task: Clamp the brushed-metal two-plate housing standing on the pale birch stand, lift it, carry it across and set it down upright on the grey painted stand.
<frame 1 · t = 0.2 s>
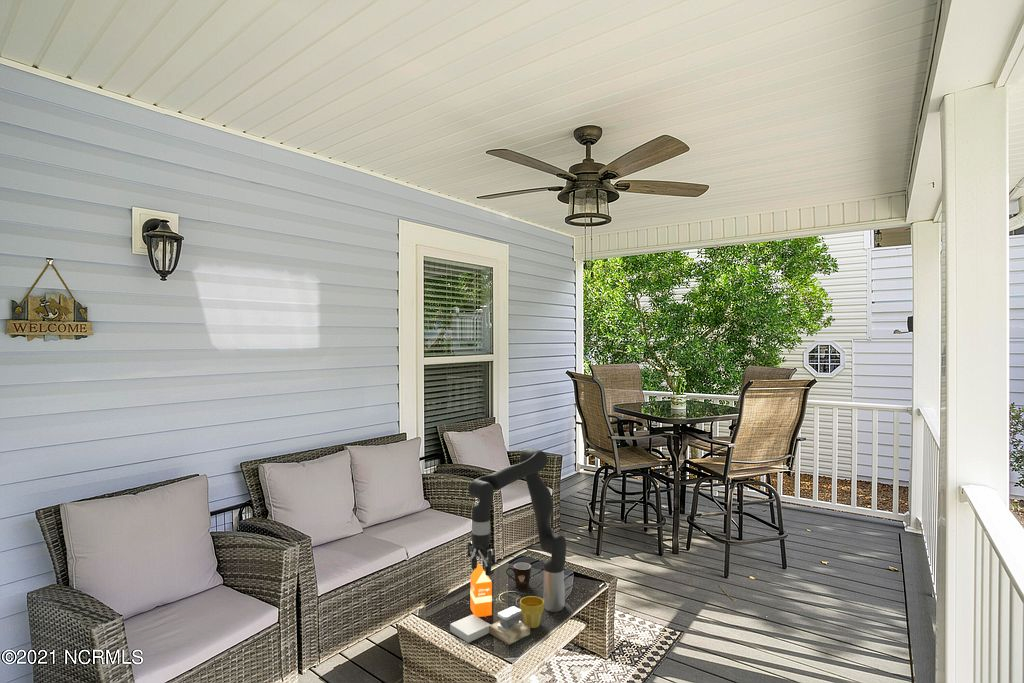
hand: (481, 571, 214), 28 cm above the table, fingers open, 8 cm apart
orange juice: (480, 612, 239), on the table
stand a: (509, 633, 221), on the table
plant pot: (531, 624, 228), on the table
stand b: (470, 631, 222), on the table
housing: (509, 626, 221), point 3 cm above the table, touching stand a
coffee mug: (519, 586, 265), on the table
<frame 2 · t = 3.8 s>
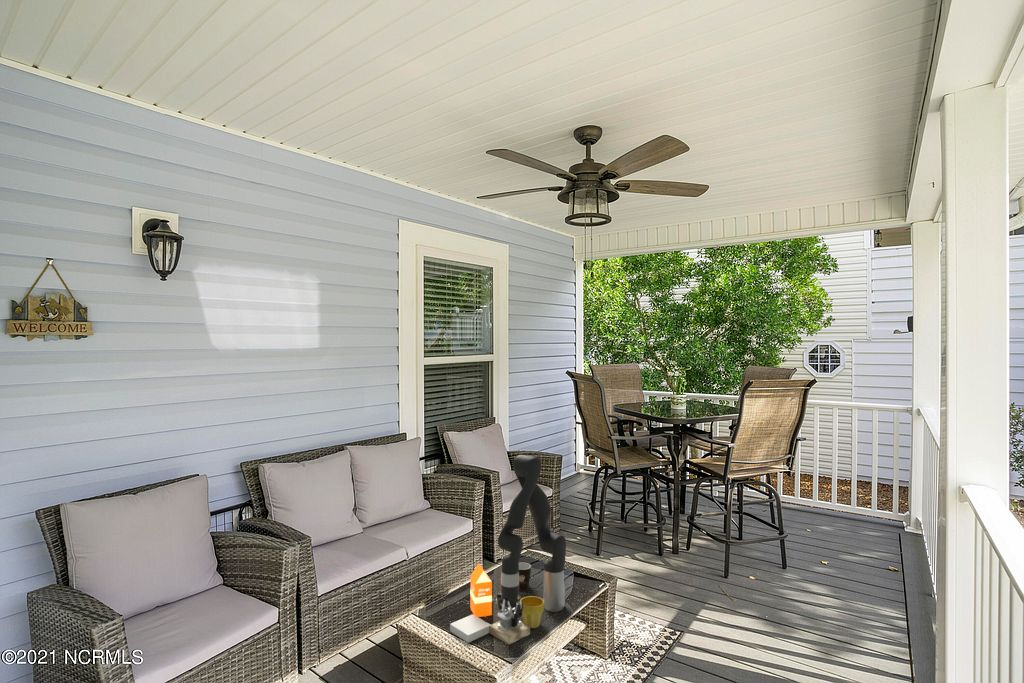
hand: (509, 623, 221), 4 cm above the table, fingers closed on housing, 5 cm apart
housing: (509, 626, 221), point 3 cm above the table, touching gripper, stand a
everything else where it was.
when the fingers open (5 cm above the table, at t = 9.6 s): housing stays where it is, resting on stand b.
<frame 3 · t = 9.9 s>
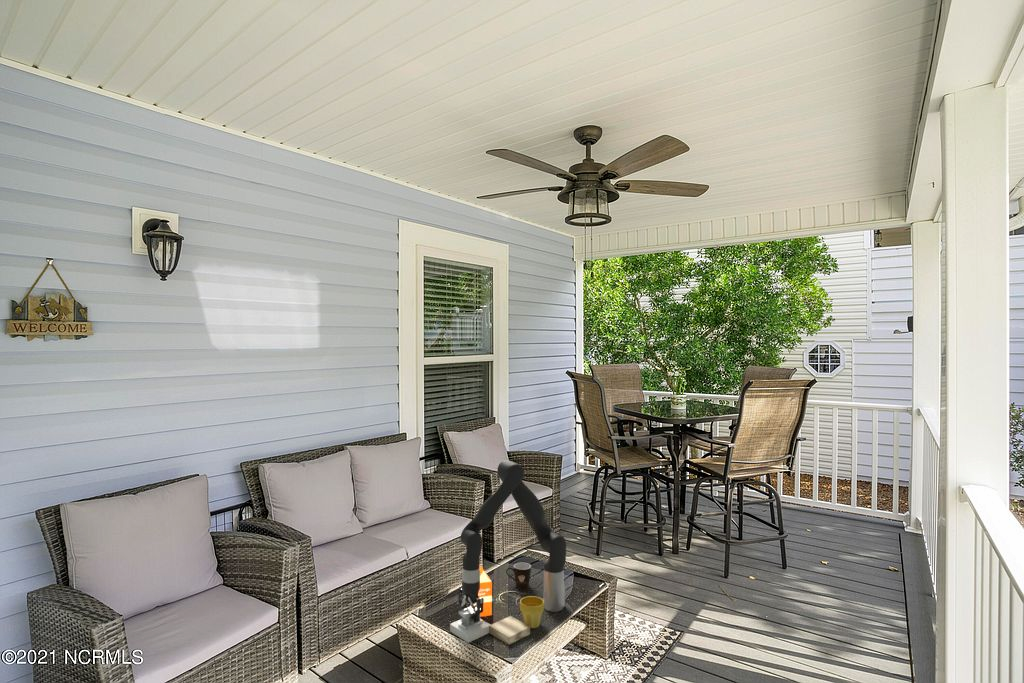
hand: (470, 618, 222), 5 cm above the table, fingers open, 7 cm apart
housing: (470, 624, 222), point 3 cm above the table, touching stand b
everything else where it was.
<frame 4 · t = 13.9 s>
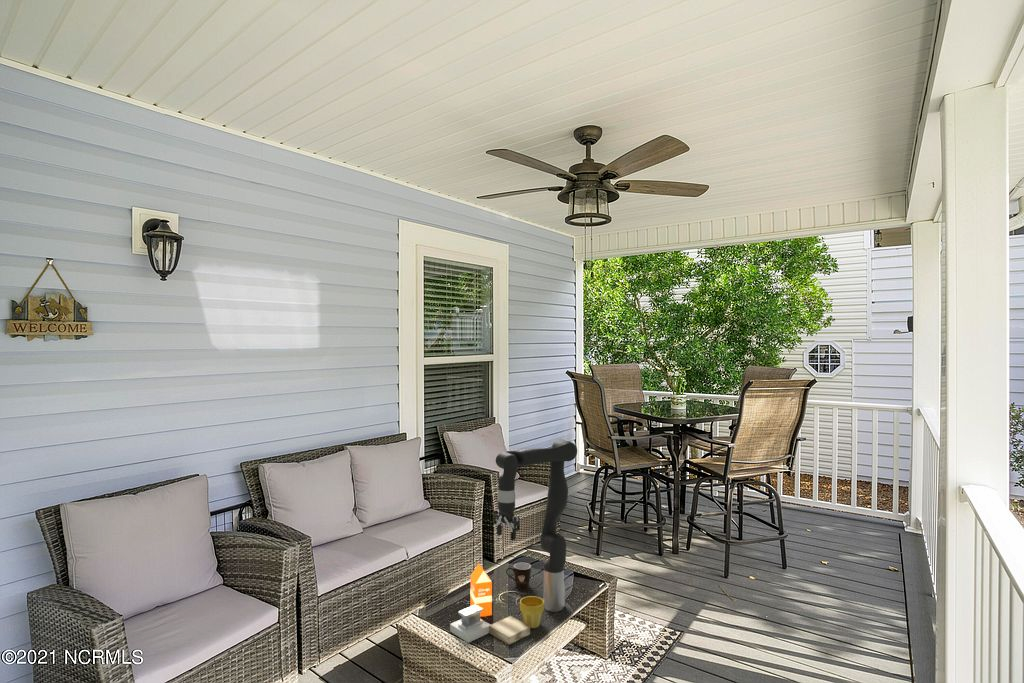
hand: (506, 537, 231), 36 cm above the table, fingers open, 8 cm apart
nothing on the table moved.
at the end: housing inside the target area on the stand b (0.1 cm from its centre), point 3.0 cm above the stand b's base; housing tilted 0°; the gripper is holding nothing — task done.
